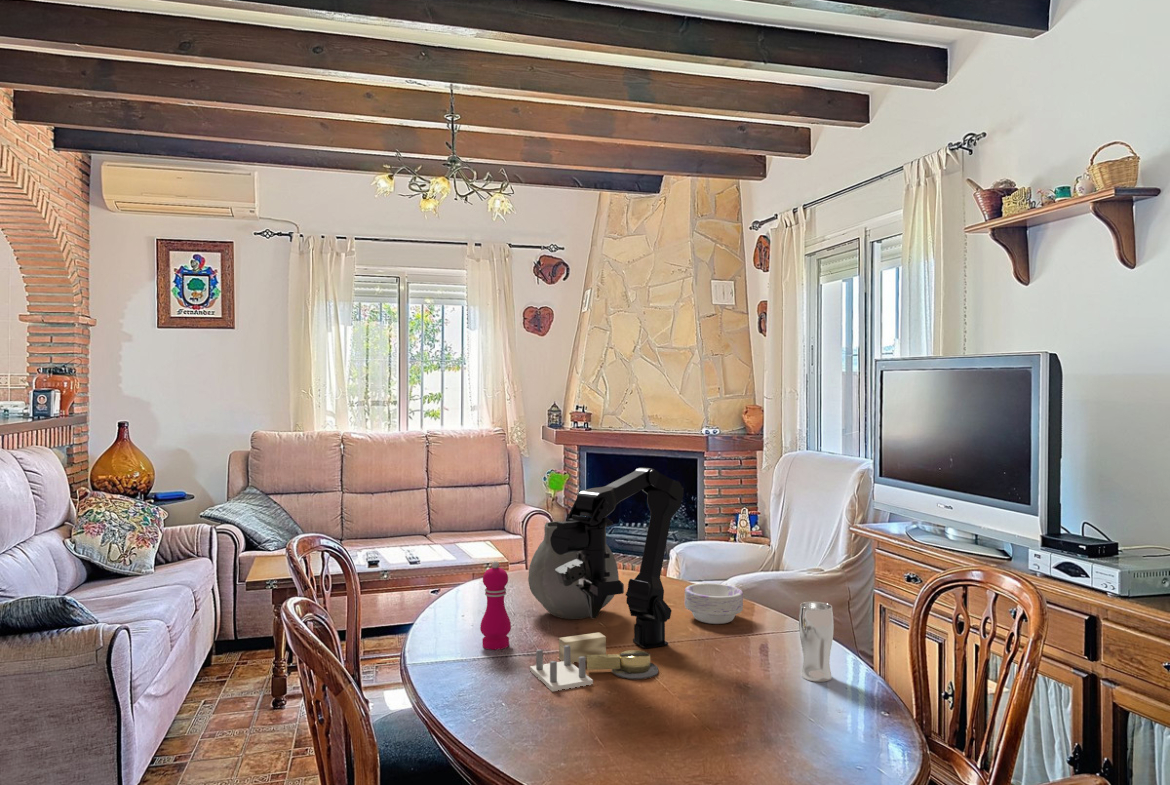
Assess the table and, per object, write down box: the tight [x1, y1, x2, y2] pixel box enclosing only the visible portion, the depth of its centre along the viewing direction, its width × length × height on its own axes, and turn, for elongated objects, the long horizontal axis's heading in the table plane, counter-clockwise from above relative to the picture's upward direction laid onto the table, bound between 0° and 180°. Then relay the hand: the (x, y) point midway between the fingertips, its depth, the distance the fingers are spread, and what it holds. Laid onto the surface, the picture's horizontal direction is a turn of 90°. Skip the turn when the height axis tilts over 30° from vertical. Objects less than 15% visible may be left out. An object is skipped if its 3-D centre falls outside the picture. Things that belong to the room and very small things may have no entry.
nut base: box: [611, 662, 659, 680], centre depth 170 cm, size 10×10×1 cm
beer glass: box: [798, 601, 835, 683], centre depth 166 cm, size 7×7×15 cm
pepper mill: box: [479, 560, 512, 651], centre depth 188 cm, size 7×7×20 cm
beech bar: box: [558, 631, 607, 664], centre depth 179 cm, size 10×4×5 cm, turn 114°
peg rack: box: [529, 645, 594, 692], centre depth 167 cm, size 13×9×5 cm
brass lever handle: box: [586, 649, 651, 672], centre depth 170 cm, size 14×7×3 cm, turn 94°
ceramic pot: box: [527, 520, 620, 620], centre depth 214 cm, size 24×24×25 cm
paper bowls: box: [684, 582, 744, 625], centre depth 209 cm, size 15×15×8 cm
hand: (593, 618), depth 176 cm, fingers closed
